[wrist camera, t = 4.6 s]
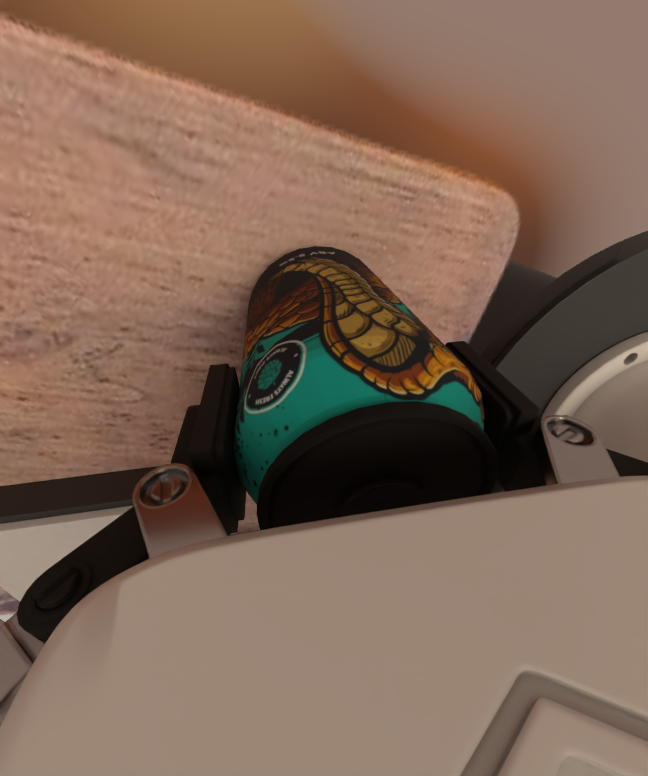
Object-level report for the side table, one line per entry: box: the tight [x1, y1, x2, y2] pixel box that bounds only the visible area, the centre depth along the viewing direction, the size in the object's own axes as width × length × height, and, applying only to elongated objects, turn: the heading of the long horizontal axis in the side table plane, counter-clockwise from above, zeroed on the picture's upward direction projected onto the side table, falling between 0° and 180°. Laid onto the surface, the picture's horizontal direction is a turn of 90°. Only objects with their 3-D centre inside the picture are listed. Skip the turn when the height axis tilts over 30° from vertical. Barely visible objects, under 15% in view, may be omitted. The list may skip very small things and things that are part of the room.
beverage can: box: [233, 246, 499, 530], centre depth 12 cm, size 7×7×12 cm
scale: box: [0, 467, 158, 601], centre depth 23 cm, size 12×12×3 cm
